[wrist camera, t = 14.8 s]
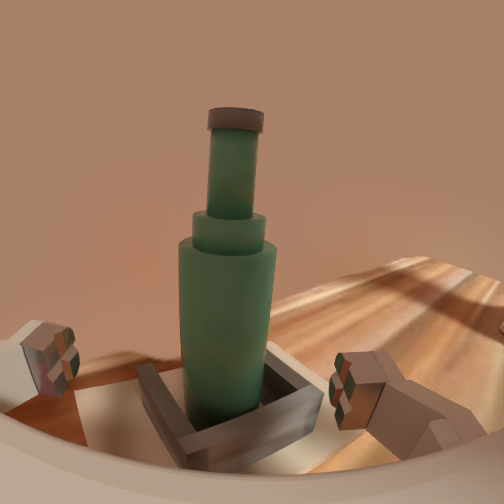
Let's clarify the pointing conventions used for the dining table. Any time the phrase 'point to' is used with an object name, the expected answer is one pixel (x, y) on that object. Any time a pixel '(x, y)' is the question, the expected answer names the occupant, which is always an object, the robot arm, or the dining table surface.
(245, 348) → the bottle
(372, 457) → the dining table surface
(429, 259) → the dining table surface
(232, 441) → the bottle stand
